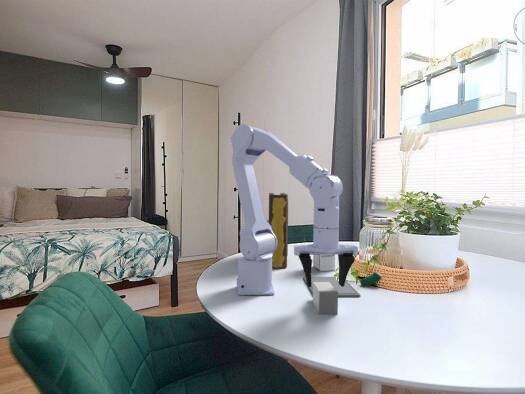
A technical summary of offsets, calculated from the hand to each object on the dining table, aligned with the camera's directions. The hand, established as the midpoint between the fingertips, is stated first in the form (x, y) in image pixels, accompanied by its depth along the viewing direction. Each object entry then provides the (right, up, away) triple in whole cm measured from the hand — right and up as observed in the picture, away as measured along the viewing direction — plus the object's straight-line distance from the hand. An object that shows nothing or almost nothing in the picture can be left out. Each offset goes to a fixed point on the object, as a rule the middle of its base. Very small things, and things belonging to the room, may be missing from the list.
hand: (325, 285), depth 70 cm
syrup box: (+6, -4, +33) cm, 34 cm away
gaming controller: (+17, -5, +19) cm, 26 cm away
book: (-9, -3, +43) cm, 44 cm away
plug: (0, -5, +2) cm, 6 cm away
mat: (+4, -5, +15) cm, 16 cm away
